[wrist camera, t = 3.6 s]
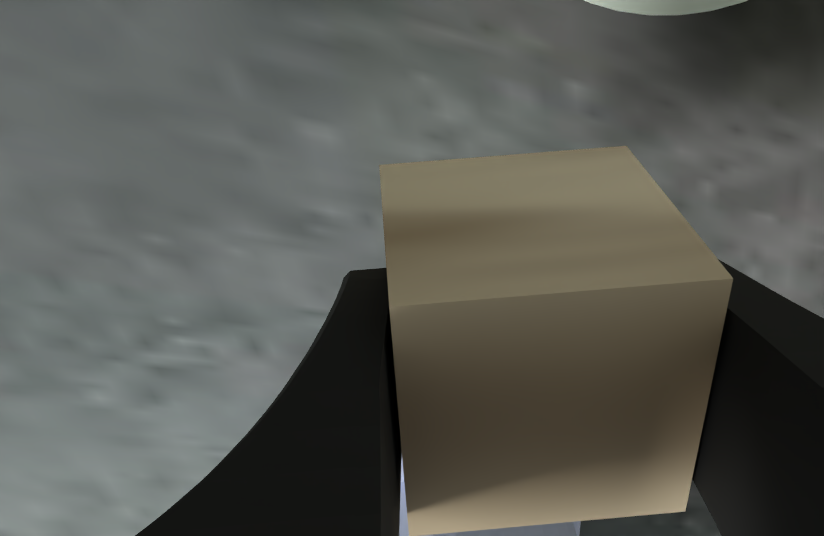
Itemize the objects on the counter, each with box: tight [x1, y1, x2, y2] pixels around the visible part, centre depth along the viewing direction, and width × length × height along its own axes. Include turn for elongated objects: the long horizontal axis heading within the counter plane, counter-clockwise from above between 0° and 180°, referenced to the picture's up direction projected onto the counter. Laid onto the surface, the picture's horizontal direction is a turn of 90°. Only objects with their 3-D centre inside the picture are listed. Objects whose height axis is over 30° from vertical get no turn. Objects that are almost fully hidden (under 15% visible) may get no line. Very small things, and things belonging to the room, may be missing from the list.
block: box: [379, 146, 733, 536], centre depth 11 cm, size 4×4×4 cm
